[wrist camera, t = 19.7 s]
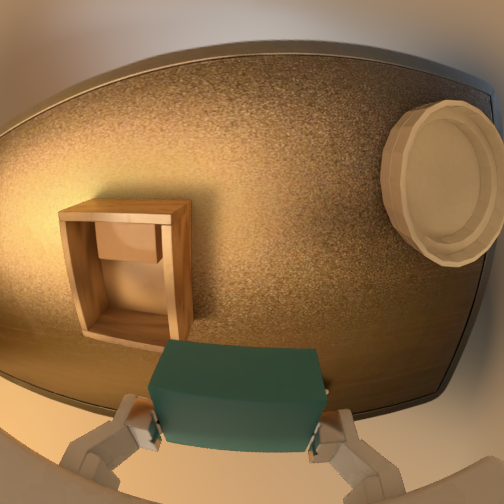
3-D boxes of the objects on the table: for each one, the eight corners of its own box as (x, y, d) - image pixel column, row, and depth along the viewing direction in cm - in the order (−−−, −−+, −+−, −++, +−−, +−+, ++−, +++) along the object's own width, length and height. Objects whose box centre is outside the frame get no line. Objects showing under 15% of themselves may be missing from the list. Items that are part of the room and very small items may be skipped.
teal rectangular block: (168, 337, 10) (146, 386, 8) (315, 347, 10) (328, 400, 8) (179, 397, 12) (166, 442, 9) (299, 406, 12) (305, 452, 9)
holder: (92, 198, 23) (57, 211, 18) (191, 199, 23) (171, 214, 18) (107, 308, 28) (83, 336, 22) (193, 321, 28) (181, 356, 22)
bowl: (382, 86, 19) (405, 76, 14) (489, 129, 19) (515, 131, 14) (366, 243, 24) (385, 262, 20) (470, 254, 24) (493, 269, 20)
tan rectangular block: (109, 208, 23) (93, 215, 20) (166, 209, 23) (155, 217, 20) (112, 248, 24) (98, 258, 22) (167, 252, 24) (157, 264, 22)
